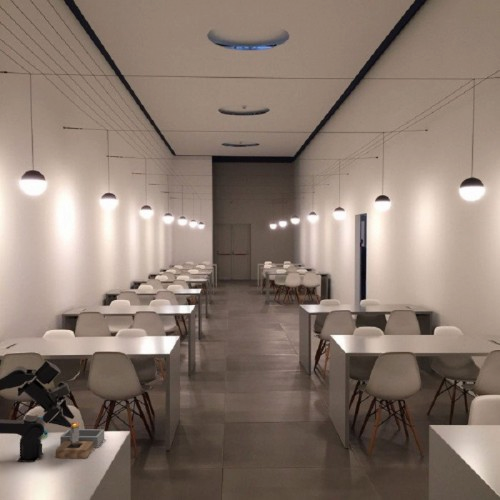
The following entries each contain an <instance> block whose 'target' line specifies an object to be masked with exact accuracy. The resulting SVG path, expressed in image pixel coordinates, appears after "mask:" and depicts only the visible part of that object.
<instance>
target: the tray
mask: <svg viewBox="0 0 500 500" xmlns="http://www.w3.org/2000/svg"><path fill="white" fill-rule="evenodd" d="M59 440H60V445H61V444H62V443H63V442H64V441H70V428H68V429H67V430H66V431H65V432H63V434H62V435H61V436H60V439H59ZM79 441H94V449H98V448H99V447H100V446H101V444H102V443H103V442H104V441H105V429H94V428H93V429H92V428H91V429H90V428H89V429H88V428H87V429H83V428H82V429H80V428H79Z"/></svg>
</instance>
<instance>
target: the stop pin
mask: <svg viewBox="0 0 500 500" xmlns="http://www.w3.org/2000/svg"><path fill="white" fill-rule="evenodd" d="M71 425H72V426H71V427H70V428H69V429H70V448H79V429H80V422H78V421H72V422H71Z"/></svg>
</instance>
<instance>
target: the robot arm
mask: <svg viewBox="0 0 500 500" xmlns="http://www.w3.org/2000/svg"><path fill="white" fill-rule="evenodd" d="M61 373H62V372H61V369H60V368H59V367H58V366H57V365H56V364H54V363H52V362H50V361H48V359H46V360H44V362H43V363H42V364H41V365H40V366H39V367H38V368H37V369H33V368H32V369H30V368H29V369H28V368H26V367H24V366H21V365H19V366H15V367H14V368H12V369H11V370H9V371H8V372H7V373H5V374H3V375H2V376H1V377H0V392H1V391H3V390H10V389H14V388H17V396H18V397H20V396H21V395H22V394H23V393H24V394H25V395H27V396H28V397H29V398H30V399H31V400H32V401H33V402H34V405H36V406H39V407H40V408H42V409H43V414H42V417H43V418H41V417H40V416H38V414H36V415H29V414H26V415H25V417H24V418H22V419H18V420H17V419H2V418H1V419H0V434H15V435H18V436H21V437H20V440H19V458H18V459H17V462H36V461H38V460H39V459H40V458H41V457H42V456H43V455H44V453H43V443H41V442H42V441H41V437H43V436H42V435H43V434H45V433H44V430H46V424H49V425H50V424H52V425H57V426H61V427H66V428H68V429H70V427H71V426H72V425H71V423H72V422H71V423H70V421H69V420H68V419H71V420H73V419H74V418H75V415H74V413H73V412H72V411H71V409H70V408H69V407H70V406H68V404H67V402H68V401H67V399H68V398H67V395H69V394H71V391H72V390H71V388H70V386H69V383H67V382H65V381H59V382H58V384H57V387H56V388H54V389H53V388H52V387H50V388H47V387H46V386H45V385H50V384H51V383H52V382H53V380H55V379H56V378H57V377H58V376H59V374H61Z"/></svg>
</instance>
